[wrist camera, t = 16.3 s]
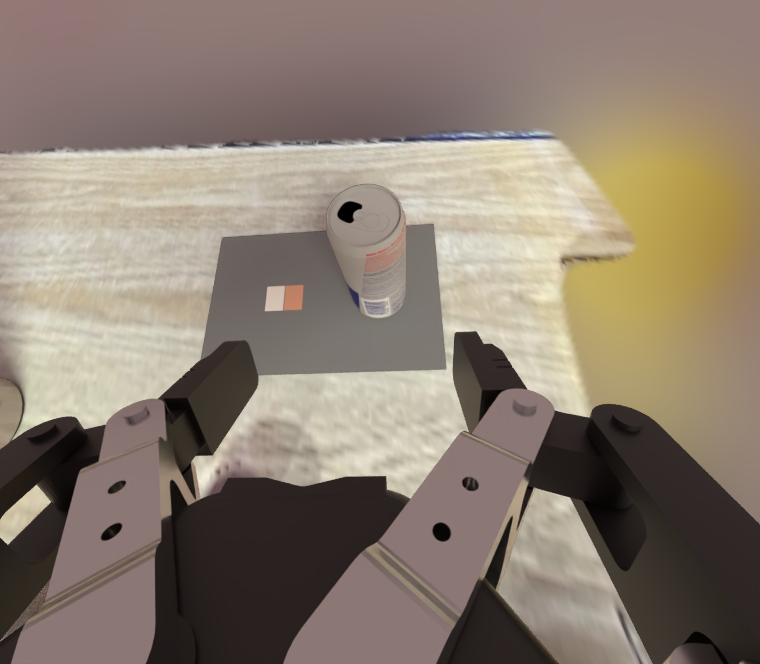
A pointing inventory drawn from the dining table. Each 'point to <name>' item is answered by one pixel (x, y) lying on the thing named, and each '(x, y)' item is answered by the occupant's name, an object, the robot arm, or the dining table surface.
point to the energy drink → (370, 247)
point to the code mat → (321, 308)
